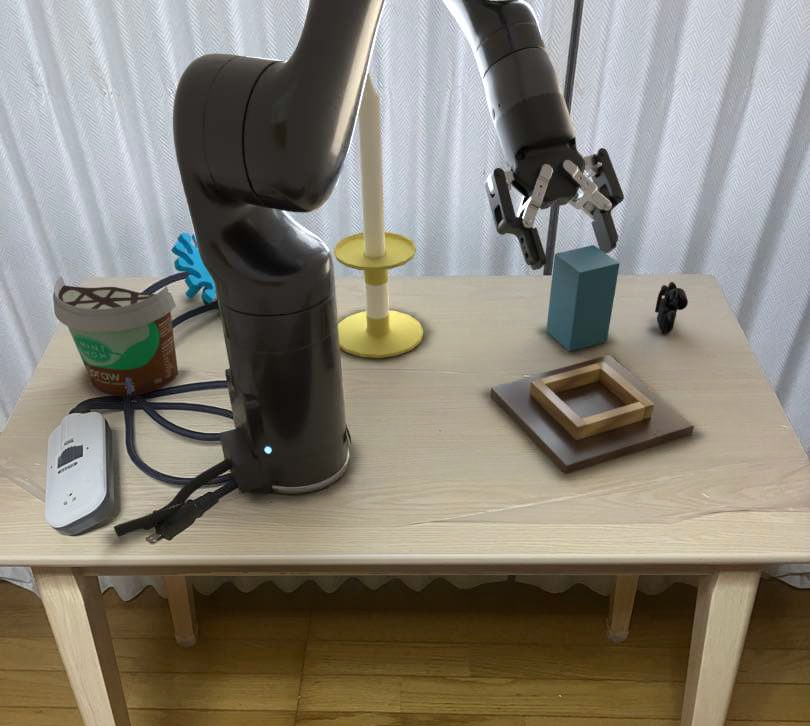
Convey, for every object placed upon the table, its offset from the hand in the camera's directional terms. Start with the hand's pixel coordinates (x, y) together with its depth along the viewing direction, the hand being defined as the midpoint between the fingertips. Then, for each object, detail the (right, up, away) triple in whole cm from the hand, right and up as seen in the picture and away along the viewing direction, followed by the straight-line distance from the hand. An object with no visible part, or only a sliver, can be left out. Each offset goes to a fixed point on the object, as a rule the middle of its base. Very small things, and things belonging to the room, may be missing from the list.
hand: (575, 258), depth 90 cm
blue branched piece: (-40, -1, +12) cm, 42 cm away
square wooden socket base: (0, -17, -6) cm, 18 cm away
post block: (+1, -7, +4) cm, 8 cm away
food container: (-47, -14, -1) cm, 49 cm away
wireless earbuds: (+11, -6, +5) cm, 14 cm away
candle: (-21, -7, +5) cm, 23 cm away
